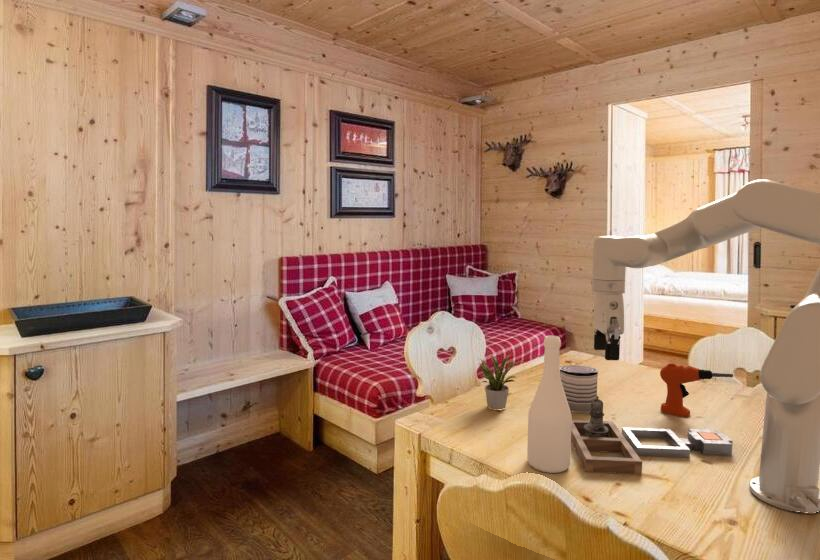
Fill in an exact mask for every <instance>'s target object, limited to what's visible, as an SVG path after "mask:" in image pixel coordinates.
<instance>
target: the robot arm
mask: <svg viewBox="0 0 820 560" xmlns="http://www.w3.org/2000/svg"><path fill="white" fill-rule="evenodd" d="M759 229H764V230H767V231H769V232H772V233H773V232H774V233H778V234H780V235H783V236H787V237H791V238H794V239H797V240H801V241H804V242H807V243H811V244H815V245H820V192H816V191H811V190H807V189H802V188H798V187H794V186H791V185H787V184H784V183H781V182H778V181H775V180H770V179H755V180H752V181H750V182H747V183H746V184H744V185H743V186H741V187H740V188H739V189H738V190H737V192H733V193H732V194H730V195H728V196H725V197H723V198H721V199H717V200H715V201H712V202H710V203H707V204H705V205H703V206H700V207H698V208H696V209H695V210H693V211H691V212H690V214H689V215H688V216H687V217H686V218H685V219H683V220H681V221H680V222H678V223H676V224H673V225H671V226H669V227H666V228H663V229H661V230H659V231H656V232H653V233H651V234H645V235H644V234H643V235H632V236H626V237H624V236H619V235H599V236H596V237H595V238H594V240H593V245H592V246H593V249H592V275H591V277H592V279H591V280H592V281H591V282H592V283H591V293H595V294H594V302H593V305H594V306H593V326H594V335H593V338H594V339H593V349H594V350H595V351H604V359H605V360H606V361H619V360H620V352H621V351H620V349H621V346H620V345H621V335H623V334H624V333H625V306H624V305H625V302H624V295H623V294H625V292H626V272H627V270H626V268H630V269H644V268H648V267H654V266H657V265H661V264H663V263H667V262H669V261H671V260H674V259H678V258H679V257H683V256H686V255H687V254H691V253H693V252H696V251H699V250H703V249H707V248H710V247H712V246H716V245H718V244H720V243H722V242H726V241H728V240H731V239H733V238H734V239H735V238H736V237H740V236H741V235H744V234H748V233H750V232H754V231H756V230H759ZM759 373H760V374H759V375H760V382H761V385H762V388H763V389H764V390H765V392H766V396H765V397H766V399H765V407H764V418H763V428H762V436H761V437H762V440H761V448H760V449H761V451H760V464H759V475H758V476H757V477H755V476H754V477H753V478H751V480H750V481H749V484H748V485H749V486H748V488H749V491H750V492H751V493H752V495H754V496H755V497H756V498H757V499H759V500H760V501H763V502H764V503H765V504H767V505H768V504H769V505H771V506H772V507H773V506H774V507H776V508H778V509H781V510H784V509H785V511H788V510H790V511H789V512H792V511H800V512H808V513H807V514H815V513H814V512H817V511H820V488H819V487H818V485H819V477H820V475H819V474H820V266H819V268H818V269H817V272H816V274H815V276H814V279H813V280H812V282H811V284H810V285H809V288H808V290H807V291H806V294H805V295H804V297H803V298H802V299H801V300H800V301H799V303H797V304H796V305H795V306H794V307H793V308H792V309H791V310H790V312H789V313H788V314H787V315H786V318H785V319H784V321H783V323H782V326H781V327H780V329H779V331H778V334H777V335H776V337H775V340H774V342H773V344H772V346H771V347H770V350H769V352H768V353H767V356H766V357H765V359H764V361H763V363H762V365H761V368H760V371H759Z"/></svg>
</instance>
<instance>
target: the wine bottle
mask: <svg viewBox="0 0 820 560" xmlns="http://www.w3.org/2000/svg"><path fill="white" fill-rule="evenodd" d="M561 340H562V339H561V338H560V336H558V335H546V336H545V337H544V339H543V346H544V354H543V355H544V357H543V372H542V375H541V379H540V382H539V384H538V386H537V389H536V392H535V395H534V396H533V399H532V402H531V404H530V407H529V411H528V416H527V418H528V419H527V420H528V421H527V448H526V449H527V453H526V454H527V457H526V459H527V462H528V464H529V465H530V466H531V467H532V468H533V469H535V470H537V471H539V472H543V473H547V474H548V473H549V474H557V473H562V472H565V471H567V470H568V469H569V467H570V464H571V447H572V442H571V426H572V420H573V417H572V416H573V415H572V412H571V411H570V408H569V405H568V402H567V399H566V395H565V392H564V389H563V385H562V382H561V379H560V369H559V367H560V348H561V346H562V345H561V344H562V341H561Z"/></svg>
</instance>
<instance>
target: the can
mask: <svg viewBox="0 0 820 560" xmlns="http://www.w3.org/2000/svg"><path fill="white" fill-rule="evenodd" d="M599 370H600V369H599V368H597V367H592V366H588V365H577V364H576V365H574V364H572V365H571V364H570V365H569V364H568V365H559V373H560V379H561V382H562V385H563V389H564V392H565V395H566V399H567V402H568V405H569V408H570V412H571V411H573V412H572V413H576V412H578V413H577V414H581V413H584V414H586V413H587V414H589V412H590V411H591V401H592V400H593V399H596V397H597V396H598V379H599V378H598V377H599V376H598V374H599Z"/></svg>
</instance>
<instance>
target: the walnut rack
mask: <svg viewBox="0 0 820 560" xmlns="http://www.w3.org/2000/svg"><path fill="white" fill-rule="evenodd" d="M589 422H590V420H583V419H581V420H579V419H572V426H571V445H572V446H573V449H574V448H575V449H574V450H575V453H576V454H577V457H578V458H579V461H580V462H581V465H582V467H583V470H584V471H585V473H600V474H601V473H602V474H619V475H620V474H621V475H622V474H624V475H642V473H643V460H642V459H641V458H640V456H638V455H637V454H636V452H635V451H634V450H633V448H632V447H631V445H630V444H629V443H628V441H627V440H626V439H625V437H624V436H623V435H622V431H621V430H620V428H618V426H617V425H616V424H615V423H614V421H611V420H610V421H609V420H608V421H607V420H603V425H604V426H606V427H607V428H608V432H607V434H606V435H608V436H609V437H604V438H601V437H588V436H581V434H584V435H587V434H586V432H585V429H584V425H586V424H589ZM591 452H593V453H594V452H596V453H597V452H598V453H617V454H618V453H619V454H621V457H614V456H613V457H612V456H592V455H591Z"/></svg>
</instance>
